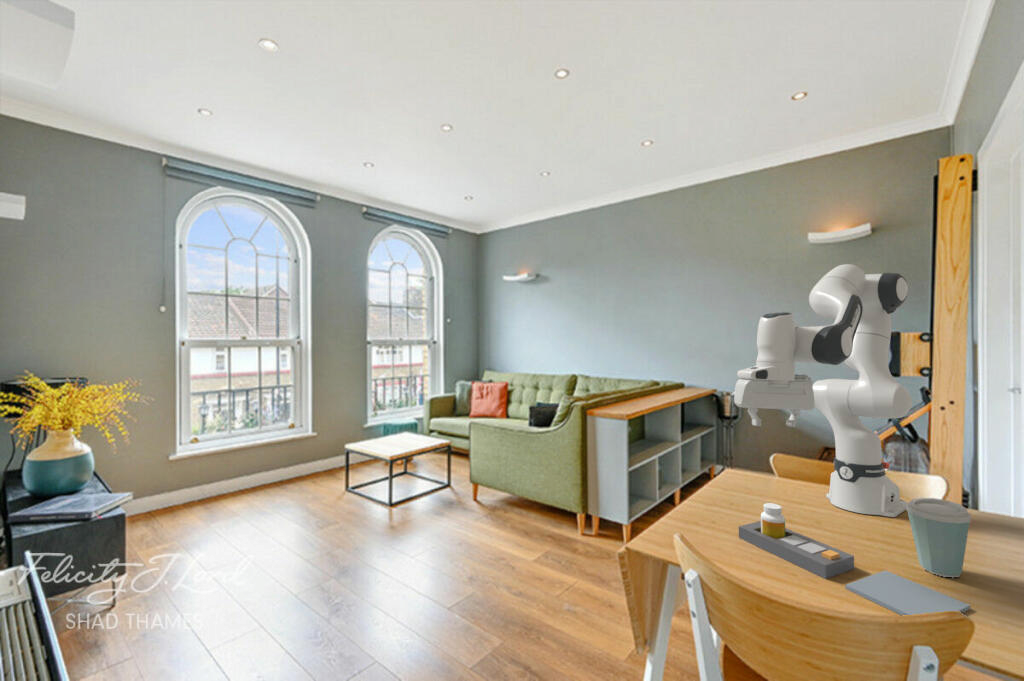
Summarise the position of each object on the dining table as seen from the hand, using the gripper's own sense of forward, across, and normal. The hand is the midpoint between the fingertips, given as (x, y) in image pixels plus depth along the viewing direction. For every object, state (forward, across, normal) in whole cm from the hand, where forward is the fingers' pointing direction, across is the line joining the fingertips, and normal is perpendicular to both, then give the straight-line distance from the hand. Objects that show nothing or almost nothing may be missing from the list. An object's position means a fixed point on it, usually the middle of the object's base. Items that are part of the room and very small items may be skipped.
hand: (773, 426), depth 115 cm
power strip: (+30, -1, +7) cm, 30 cm away
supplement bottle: (+30, +1, +2) cm, 30 cm away
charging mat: (+30, -10, +27) cm, 41 cm away
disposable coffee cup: (+29, -27, +18) cm, 43 cm away
